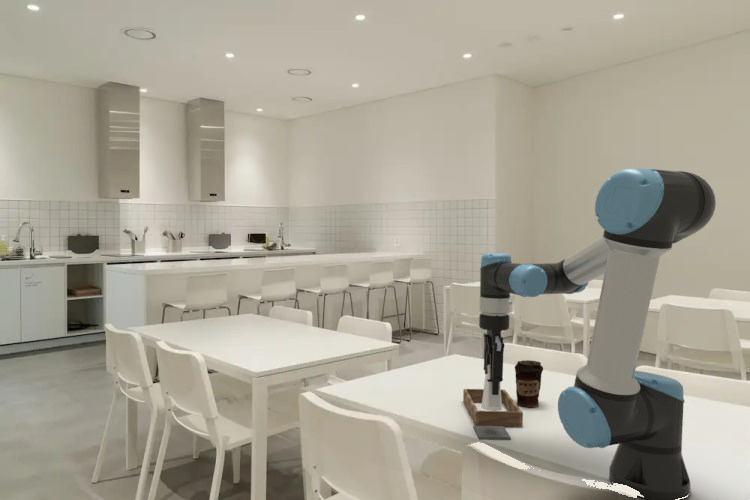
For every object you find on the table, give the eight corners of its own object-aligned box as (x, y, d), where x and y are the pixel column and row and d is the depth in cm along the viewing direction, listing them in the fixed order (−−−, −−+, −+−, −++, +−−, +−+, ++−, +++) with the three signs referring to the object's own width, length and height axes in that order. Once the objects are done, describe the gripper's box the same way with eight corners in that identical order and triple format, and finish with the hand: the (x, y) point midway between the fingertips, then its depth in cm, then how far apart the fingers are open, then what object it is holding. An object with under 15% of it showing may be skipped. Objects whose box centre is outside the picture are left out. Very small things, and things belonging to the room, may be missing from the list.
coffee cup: (543, 410, 164) (544, 366, 164) (514, 408, 166) (515, 364, 166) (540, 401, 173) (541, 359, 172) (513, 399, 175) (514, 358, 174)
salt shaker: (487, 403, 148) (488, 361, 148) (506, 407, 145) (507, 365, 144) (477, 407, 144) (478, 365, 144) (496, 412, 141) (497, 369, 140)
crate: (522, 427, 150) (522, 412, 150) (475, 426, 150) (475, 411, 150) (504, 402, 171) (504, 389, 171) (463, 401, 171) (463, 388, 171)
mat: (510, 439, 141) (510, 437, 141) (478, 439, 141) (478, 436, 141) (503, 428, 149) (503, 426, 149) (473, 427, 149) (473, 425, 149)
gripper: (517, 319, 135) (514, 415, 136) (501, 308, 152) (499, 393, 153) (486, 318, 135) (483, 414, 136) (474, 308, 152) (471, 393, 153)
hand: (491, 403), depth 144 cm, fingers closed on salt shaker, 4 cm apart
